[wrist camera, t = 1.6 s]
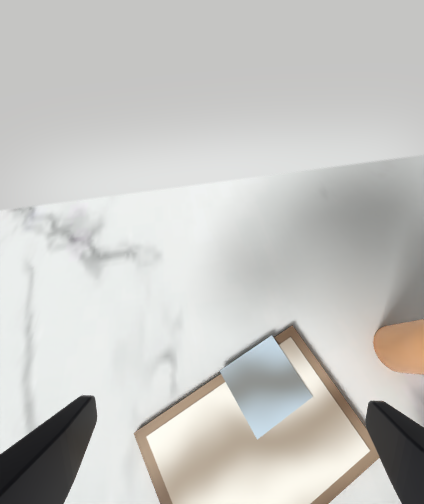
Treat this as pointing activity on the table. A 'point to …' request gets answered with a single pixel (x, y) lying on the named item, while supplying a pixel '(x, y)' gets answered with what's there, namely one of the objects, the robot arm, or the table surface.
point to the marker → (401, 346)
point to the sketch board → (259, 434)
